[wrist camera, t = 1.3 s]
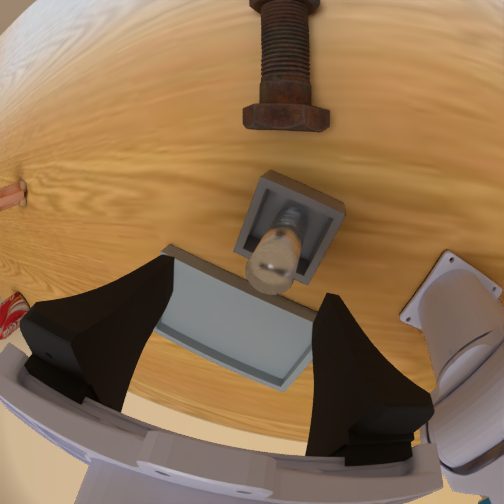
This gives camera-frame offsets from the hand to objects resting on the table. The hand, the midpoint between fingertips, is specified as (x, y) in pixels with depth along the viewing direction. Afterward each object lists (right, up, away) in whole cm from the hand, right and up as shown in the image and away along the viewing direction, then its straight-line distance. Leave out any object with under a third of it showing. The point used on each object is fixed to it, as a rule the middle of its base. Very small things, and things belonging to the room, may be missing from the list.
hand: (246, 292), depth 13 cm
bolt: (+3, +18, +3) cm, 18 cm away
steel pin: (+3, +4, +9) cm, 10 cm away
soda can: (-54, -10, +35) cm, 65 cm away
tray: (-2, -6, +16) cm, 17 cm away
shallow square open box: (+3, +4, +9) cm, 11 cm away
